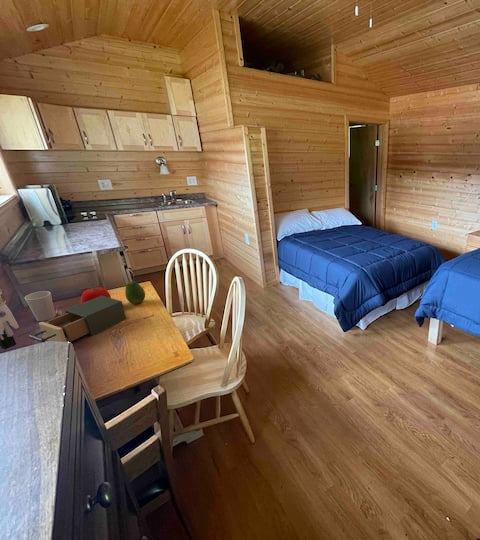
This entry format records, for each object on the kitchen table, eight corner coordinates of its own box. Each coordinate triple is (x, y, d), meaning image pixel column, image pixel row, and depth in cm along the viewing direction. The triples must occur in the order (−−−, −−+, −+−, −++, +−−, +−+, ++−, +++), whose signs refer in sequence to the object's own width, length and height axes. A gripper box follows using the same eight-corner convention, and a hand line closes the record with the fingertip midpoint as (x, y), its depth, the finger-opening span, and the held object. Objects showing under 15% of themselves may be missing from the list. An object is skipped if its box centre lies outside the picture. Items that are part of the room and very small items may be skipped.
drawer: (49, 353, 113) (42, 336, 110) (29, 346, 116) (22, 329, 113) (101, 328, 129) (96, 313, 126) (82, 322, 132) (77, 307, 129)
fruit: (148, 303, 153) (143, 282, 148) (129, 308, 147) (124, 286, 143) (145, 297, 158) (140, 277, 153) (126, 302, 152) (121, 281, 148)
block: (65, 338, 120) (62, 328, 119) (57, 335, 121) (54, 326, 120) (78, 332, 124) (75, 323, 123) (70, 329, 125) (67, 320, 124)
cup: (62, 317, 137) (54, 293, 132) (39, 325, 130) (30, 301, 125) (53, 312, 139) (45, 289, 135) (30, 320, 133) (20, 296, 128)
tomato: (78, 312, 141) (71, 291, 137) (99, 301, 151) (93, 282, 147) (98, 315, 140) (91, 294, 136) (118, 304, 150) (112, 285, 146)
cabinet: (91, 336, 126) (85, 316, 122) (70, 329, 129) (64, 310, 125) (126, 319, 139) (121, 301, 135) (106, 313, 142) (101, 295, 138)
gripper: (17, 300, 100) (36, 345, 107) (-11, 292, 104) (9, 336, 111) (-15, 311, 94) (8, 358, 101) (-44, 301, 97) (-19, 347, 105)
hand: (9, 346), depth 106 cm, fingers closed
